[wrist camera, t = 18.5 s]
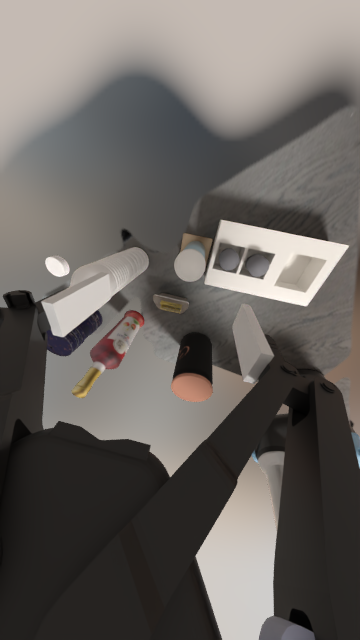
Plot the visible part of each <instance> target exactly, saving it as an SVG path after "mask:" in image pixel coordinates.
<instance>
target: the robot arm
mask: <svg viewBox="0 0 360 640" xmlns="http://www.w3.org/2000/svg"><path fill="white" fill-rule="evenodd" d="M3 298H4V300H5V302H6V304H7V306H8V308H1V307H0V640H222V638H221V634H220V631H219V628H218V625H217V622H216V619H215V616H214V613H213V609H212V606H211V603H210V600H209V597H208V594H207V591H206V588H205V585H204V582H203V579H202V575H201V572H200V569H199V566H198V563H197V560H196V557H195V556H196V554H197V552H198V550H199V549H200V547H201V545H202V544H203V542H204V540H205V539H206V537H207V535H208V534H209V532H210V530H211V529H212V527H213V525H214V524H215V522H216V520H217V518H218V517H219V515H220V513H221V512H222V510H223V508H224V507H225V504H226V503H227V502H228V499H229V498H230V496H231V495H232V493H233V491H234V489H235V487H236V485H237V479H238V477H239V475H240V473H241V471H242V470H243V468H244V467H245V465H246V463H247V462H248V460H249V458H250V457H251V455H252V457H253V459H254V461H255V462H257V463H258V465H259V467H260V469H261V470H262V471H263V472H264V473H265V474H266V476H267V481H268V487H269V492H270V497H271V502H272V508H273V512H274V517H275V523H276V528H277V539H276V549H275V561H274V581H273V588H274V616H272V617H269V618H267V619H266V621H265V622H264V624H263V625H262V628H261V632H260V636H259V640H360V438H359V436H358V435H357V434H356V433H355V431H354V430H353V428H352V427H351V425H350V424H349V421H348V417H347V413H346V408H345V404H344V400H343V396H342V393H341V391H340V390H339V389H338V388H337V387H336V386H335V385H334V384H333V383H331V382H330V381H328V380H326V379H325V377H324V376H323V375H322V374H321V373H319V372H317V371H314V370H308V369H301V370H296V368H295V367H293V366H292V365H291V364H289V363H287V362H285V361H284V359H283V357H282V355H281V353H280V351H279V350H278V347H277V346H276V344H275V342H274V340H273V339H272V338H271V337H270V336H269V335H266V334H264V333H263V331H262V329H261V327H260V325H259V323H258V321H257V318H256V316H255V314H254V312H253V310H252V308H251V306H250V305H247V304H242V305H241V307H240V310H239V312H238V314H237V316H236V319H235V321H234V323H233V326H232V329H233V334H234V339H235V343H236V348H237V353H238V358H239V363H240V368H241V372H242V377H243V381H245V382H249V383H253V384H254V383H255V382H256V381H257V380H258V379H259V382H258V383H257V384H256V385H255V386H254V387H253V389H252V390H251V391H250V392H249V393H248V394H247V395H246V396H245V397H244V398H243V400H242V401H241V402H240V403H239V404H238V405H237V406H236V407H235V409H234V410H233V411H232V412H231V413H230V414H229V415H228V416H227V417H226V419H225V420H224V421H223V422H222V423H221V424H220V425H219V426H218V427H217V428H216V430H215V431H214V432H213V433H212V434H211V435H210V436H209V437H208V438H207V439H206V440H205V441H204V442H202V443H201V444H200V445H199V447H198V448H197V449H196V450H195V451H194V452H193V453H192V454H191V455H190V456H189V457H188V459H187V460H186V461H185V462H184V463H183V464H182V465H181V466H180V467H179V468H178V470H177V471H176V472H175V473H174V474H173V475H172V477H169V474H168V473H167V471H166V469H165V467H164V465H163V464H162V463H161V461H160V460H159V459H158V458H157V457H156V456H155V455H154V454H152V453H151V452H149V451H150V445H148V444H144V443H140V442H136V441H132V440H129V439H121V440H99V439H97V438H96V437H94V436H93V435H92V434H90V433H89V432H88V431H86V430H85V429H83V428H82V427H80V426H76V425H72V424H68V423H64V422H61V421H58V423H57V424H56V425H55V427H54V428H50V429H45V430H43V425H42V414H43V400H44V384H45V369H46V354H47V339H48V335H47V332H46V331H48V330H49V329H51V331H52V333H53V335H55V336H59V337H64V336H66V335H67V334H68V333H69V332H70V331H72V330H73V329H74V328H75V327H77V326H78V325H79V324H80V323H82V322H83V321H84V320H85V319H87V318H88V317H89V316H90V315H92V314H93V313H94V312H95V311H97V310H98V309H99V308H100V307H101V306H103V305H104V304H105V303H106V302H108V301H109V300H110V299H111V294H110V282H109V274H108V273H104V272H100V273H98V274H96V275H94V276H92V277H90V278H88V279H86V280H84V281H82V282H80V283H78V284H76V285H74V286H71V287H69V288H67V289H65V290H62V291H59V292H57V293H55V294H53V295H50V296H49V297H46V298H44V299H42V300H40V301H38V302H36V303H35V301H34V298H33V296H32V293H31V292H29V291H25V290H18V291H12V292H8V293H6V294H4V295H3ZM282 404H285V405H287V406H289V413H288V414H279V415H276V414H277V412H278V411H279V409H280V407H281V406H282Z"/></svg>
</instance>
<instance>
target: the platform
mask: <svg viewBox="0 0 360 640" xmlns="http://www.w3.org/2000/svg"><path fill="white" fill-rule="evenodd" d="M186 300H187V298H182V297H178V296H174V295H169V294H165V293H160V295H156V294H155V295H154V296H153V301H154V303H155V304H156V306H157V307H158V309H161V310H166V311H170V312H174V313H178V314H183V313H184V312H185V311H186V310H187V308H188V306H189V302H186ZM169 304H170V305H169ZM173 304H175V305H176V304H177V305H176V306H174V305H173ZM165 305H166V306H165ZM167 305H169V307H168V306H167ZM172 305H173V306H174V307H175V308H176V307H177V306H178V305H180V306H181V307H179V306H178V308H180V309H177V308H176V309H175V308H174V307H173V306H172ZM170 306H172V307H173V308H171V307H170Z"/></svg>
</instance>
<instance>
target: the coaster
mask: <svg viewBox="0 0 360 640" xmlns="http://www.w3.org/2000/svg"><path fill="white" fill-rule="evenodd" d="M212 240H213V239H210V238H206V237H201V236H196V235H191V234H187V233H183V239H182V245H181V252H182V251H183V250H184V249H185V247H186V246H187V245H188V244H189V243H190V242H192V241H199V242H201V243H202V244H203V245H204V247H205V264H207V260H208V256H209V252H210V248H211V244H212ZM205 267H206V265H205Z"/></svg>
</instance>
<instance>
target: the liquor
mask: <svg viewBox="0 0 360 640" xmlns="http://www.w3.org/2000/svg"><path fill="white" fill-rule="evenodd" d="M143 325H144V318H143V316H142V315H141V314H140V313H139V312H137V311H133V310H131V311H127V312H126V313H125V316H124V318H122V320H121V321H120V322H119V323H118V324H117V325H116V326H115V327H114V328H113V329H112V330H111V331H110V332H109V333H107V335H105V337H103V339H101V340H100V341H99V342H98V343H97V344H96V346H94V347H93V348H92V350H91V351H90V356H91V358H92V360H93V362H94V363H93V364H92V366H91V367H90V369H89V370H88V372H87V373H86V375H85V376H84V377H83V378H82V379H81V380H80V381H79V382H78V383H77V385H76V386H75V387H74V388H73V390H72V394H73V395H75V396H76V397H79V398H84V397H85V396H86V394H87V393H88V392H89V390H90V389H91V387H92V384H93V383H94V381H95V380H96V379H97V378H98V376H100V374H101V373H102V372H103V371H104V370H105V369H115V368H117V367H118V366H119V364H120V362H121V361H122V359H123V357H124V355H125V354H126V352H127V350H128V348H129V346H130V344H131V343H132V341H133V339H134V337H135V335H136V334H137V332H138V330H139V328H140V327H142V326H143Z"/></svg>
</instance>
